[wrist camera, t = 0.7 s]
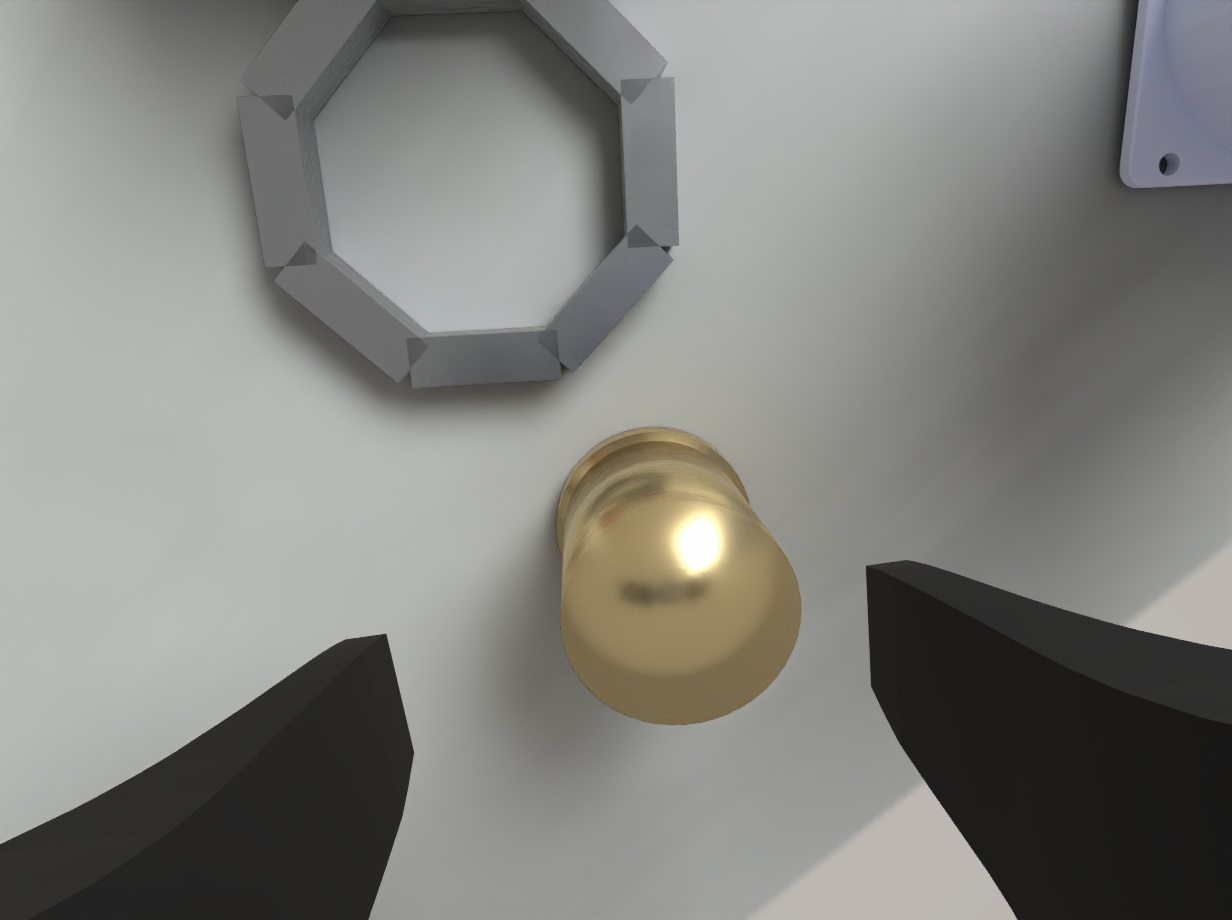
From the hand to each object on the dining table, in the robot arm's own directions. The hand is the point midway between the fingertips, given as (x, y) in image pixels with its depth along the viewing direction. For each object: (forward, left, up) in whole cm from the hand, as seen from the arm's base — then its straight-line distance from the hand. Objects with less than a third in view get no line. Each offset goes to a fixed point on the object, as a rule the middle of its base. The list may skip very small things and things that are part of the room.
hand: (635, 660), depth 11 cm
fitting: (-1, +1, -10) cm, 10 cm away
